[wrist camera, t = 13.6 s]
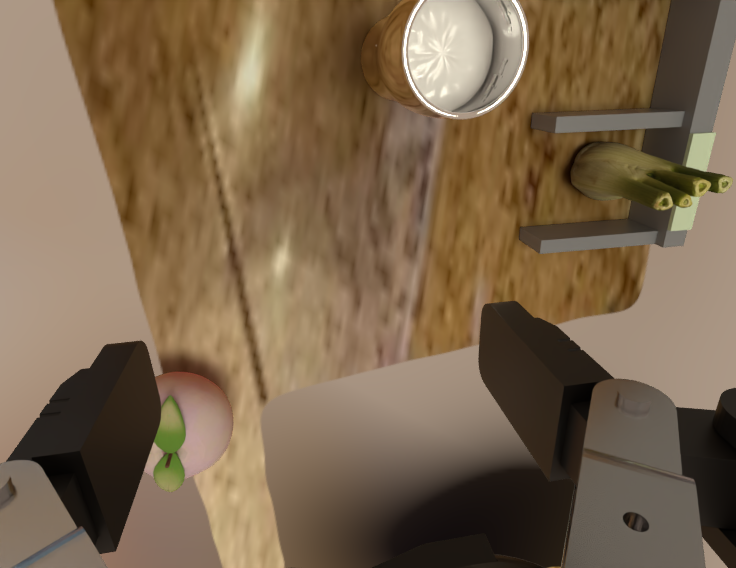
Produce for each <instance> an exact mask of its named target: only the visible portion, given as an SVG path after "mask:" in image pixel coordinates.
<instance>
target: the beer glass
mask: <svg viewBox="0 0 736 568" xmlns="http://www.w3.org/2000/svg"><path fill="white" fill-rule="evenodd" d="M528 49H529V31H528V24H527V20H526V16H525V13H524V11H523V8H522V6H521V4H520V2H519V0H402V1H400V2H399V3H398V4H397V5H396V7H395V8H394V9H393V10H392V12H391V13H390V14H389V16H387V17H385V18H383V19H381V20H380V21H378V22H377V23H376V24H375V25H374V26H373V27H372V28H371V29H370V31H369V32H368V34H367V36H366V38H365V40H364V43H363V46H362V50H361V66H362V71H363V74H364V77H365V79H366V81H367V83H368V84H369V86H370V87H371V88H372V89H373V90H374V91H375V92H376V93H377V94H378V95H380V96H381V97H383V98H386V99H388V100H392V101H397V102H398V103H399V104H401V105H402V106H403V107H405V108H406V109H408V110H410V111H412V112H415V113H417V114H420V115H423V116H426V117H432V118H439V119H459V120H462V119H471V118H475V117H479V116H481V115H484V114H486V113H488V112H490V111H491V110H493V109H494V108H496V107H497V106H499V105H500V104H501V103H502V102H503V101H504V100H505V99H506V98H507V97H508V96H509V95H510V93H511V92H512V91H513V90H514V88H515V86H516V85H517V83H518V81H519V79H520V77H521V75H522V73H523V70H524V68H525V64H526V61H527V56H528Z"/></svg>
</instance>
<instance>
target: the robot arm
mask: <svg viewBox="0 0 736 568" xmlns="http://www.w3.org/2000/svg"><path fill="white" fill-rule="evenodd" d="M479 369H480V374H481V377H482V380H483V382H484V383H485V385H486V387H487V388H488V390H489V391H490V393H491V394H492V396H493V397H494V399H495V400H496V402H497V403H498V405H499V406H500V408H501V409H502V411H503V412H504V414H505V415H506V417H507V418H508V420H509V422H510V423H511V424H512V426H513V428H514V429H515V431H516V432H517V433H518V435H519V437H520V438H521V440H522V441H523V443H524V444H525V446H526V447H527V449H528V450H529V452H530V453H531V455H532V456H533V458H534V459H535V461H536V462H537V464H538V465H539V467H540V468H541V470H542V471H543V473H544V474H545V476H546V477H547V479H548V481H556V480H562V479H568V478H571V479H572V481H573V482H574V483H575V489H574V493H573V499H572V505H571V511H570V517H569V523H568V529H567V535H566V540H565V546H564V552H563V559H562V564H561V568H706V567H705V558H704V550H703V542H702V537H703V538H704V540H705V541H706V542H707V543H708V544H709V546H710V547H711V548H712V549H713V550H714V551H715V553H716V554H717V555H718V556H719V557H720V559H721V560H722V561H723V562H724V563H725V565H726V566H727V567H728V568H736V388H733V389H729V390H726V391H724V392H723V393H722V394H721V396H720V400H719V402H718V406H717V409H716V410H704V409H692V408H679V407H676V406H675V405H674V403H673V402H672V400H671V399H670V398H669V397H668V396H667V395H665V394H664V393H662V392H661V391H659V390H658V389H656V388H654V387H652V386H649V385H647V384H644V383H641V382H637V381H634V380H628V379H614V378H613V377H612V376H611V375H610V374H609V373H608V372H607V371H606V370H604V369H603V368H602V367H601V366H600V365H599V364H598V363H597V362H596V361H595V360H593V359H592V358H591V357H590V356H589V355H588V354H587V353H586V352H585V351H583V350H581V349H580V347H579V346H578V345H577V344H576V343H575V342H574V341H570V338H569V337H568V336H567V335H566V334H565V333H564V332H563V331H561V330H560V329H559V328H558V327H557V326H555V325H553V324H551V323H549V322H547V321H545V320H542V319H540V318H534V317H533V316H532V315H530V314H529V313H528V312H527V311H526V310H525V309H524V308H523V307H522V306H521V305H520V304H519V303H518V302H516V301H508V302H499V303H490V304H485V305H484V307H483V309H482V314H481V329H480V343H479ZM160 421H161V400H160V395H159V391H158V388H157V384H156V380H155V376H154V372H153V368H152V364H151V360H150V356H149V352H148V349H147V346H146V344H145V343H144V342H143V341H134V342H125V343H115V344H107V345H105V346H104V347H103V349H102V350H101V352H100V353H99V355H98V356H97V358H96V359H95V361H94V362H93V364H92V365H91V367H90V368H88V369H81V370H79V371H78V372H77V373H75V374H74V375H73V376H71V377H70V378H69V379H67V380H66V381H65V382H63V383H62V384H61V385H60V387H59V388H58V389H57V391H56V392H55V394H54V395H53V396H52V398H51V399H50V403H49V404H47V405H46V406H45V407H44V409H43V410H42V412H41V413H40V418H37V419H36V420H35V422H34V423H33V425H32V426H31V427H30V429H29V430H28V431H27V433H26V434H25V436H24V437H23V438H22V440H21V441H20V443H19V444H18V445H17V447H16V448H15V450H14V451H13V453H12V454H11V455H10V457H9V458H8V460H7V461H6V462H4V463H1V464H0V568H107V566H106V564H105V562H104V561H103V559H102V557H101V556H100V554H102V553H109V552H114V551H116V549H117V547H118V544H119V541H120V538H121V535H122V532H123V529H124V526H125V524H126V521H127V518H128V515H129V512H130V509H131V506H132V503H133V500H134V497H135V495H136V492H137V489H138V486H139V483H140V480H141V477H142V474H143V471H144V469H145V466H146V463H147V460H148V457H149V454H150V451H151V449H152V446H153V443H154V440H155V437H156V434H157V431H158V428H159V425H160ZM373 568H544V567H542V566H539V565H537V564H534V563H532V562H528V561H525V560H522V559H518V558H514V557H509V556H503V555H494V553H493V551H492V548H491V546H490V544H489V542H488V539H487V537H486V535H485V534H478V535H473V536H467V537H461V538H455V539H450V540H444V541H438V542H433V543H427V544H423V545H421V546H419V547H416V548H414V549H412V550H410V551H408V552H405V553H403V554H401V555H399V556H397V557H395V558H392V559H390V560H388V561H386V562H383V563H381V564H379V565H377V566H375V567H373Z"/></svg>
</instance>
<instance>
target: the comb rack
mask: <svg viewBox="0 0 736 568" xmlns="http://www.w3.org/2000/svg"><path fill="white" fill-rule="evenodd" d="M735 39H736V0H672V1H671V6H670V11H669V16H668V21H667V26H666V31H665V36H664V41H663V46H662V51H661V56H660V61H659V66H658V71H657V76H656V81H655V86H654V91H653V97H652V102H651V107H650V108H640V109H617V110H594V111H570V112H547V113H532V121H531V128H533V129H538V130H543V131H547V132H552V133H567V132H587V131H608V130H628V129H646V132H645V137H644V142H643V147H642V152H644V153H646V154H649V155H652V156H655V157H659V158H661V159H664V160H667V161H670V162H673V163H676V164H679V165H683V166H686V167H690V168H694V169H698V170H700V171H704V172H706V170H707V166H708V163H709V159H710V155H711V151H712V147H713V143H714V139H715V135H716V133H714V132H712V130H713V126H714V122H715V118H716V114H717V110H718V106H719V102H720V98H721V94H722V90H723V86H724V82H725V78H726V75H727V71H728V66H729V63H730V59H731V54H732V50H733V47H734V43H735ZM691 200H692V203H693V204H692V205H691V206H690V207H687V208H680V207H678V206H676V205H673V206H672V207H671V208H670V209H668V210H664V211H663V210H662V211H659V210H654V209H652V208H650V207H647V206H644V205H642V204H640V203H637V202H635V201H632V203H631V208H630V213H629V218H628V219H619V220H606V221H593V222H580V223H567V224H554V225H542V226H529V227H520V235H519V240H521V241H522V242H523V243H525V244H526V245H528V246H529V247H531V248H532V249H534V250H535V251H536V252H538V253H539V254H543V253H555V252H567V251H578V250H590V249H601V248H613V247H624V246H636V245H647V244H657V245H659V246H661V247H673V246H683V245H684V241H685V238H686V234H687V230H691V229H692V225H693V221H694V217H695V214H696V210H697V206H698V202H699V197H693V196H691Z"/></svg>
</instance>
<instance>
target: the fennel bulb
mask: <svg viewBox="0 0 736 568" xmlns="http://www.w3.org/2000/svg"><path fill="white" fill-rule="evenodd" d="M570 174H571V183H572V184H573V185H574V186H575V187H576V188H577V189H578V190H580V191H581V192H582V193H583V194H584V195H586V196H587V197H589V198H592V199H595V200H614V199H619V198H626V199H629V200H632V201H635V202H637V203H640V204H642V205H644V206H647V207H650V208H652V209H654V210H659V211H662V210H663V211H664V210H668V209H670V208H671V207H672V206H673V205H676V206H678V207H680V208H687V207H690V206H691V205H692V204H693V203H692V200H691V196H693V197H700V196H703V195H704V194H705V193H706V192H707V191H711V192H715V193H724V192H726V191H727V190H728V189H729V188H730V186H731V185H732V182H733V179H732V178H731V177H728V176H725V175H722V174H716V173H711V172H704V171H700V170H698V169H694V168H690V167H686V166H683V165H679V164H676V163H673V162H670V161H667V160H664V159H661V158H659V157H655V156H652V155H649V154H646V153H644V152H641V151H639V150H636V149H635V148H631V147H628V146H626V145H623V144H620V143H613V142H594V143H591V144H589V145H587V146H585V147H584V148H583V149H582V150H581V151H580V152H579V153H578V154H577V156H576V158H575V162H574V164H573V166H572V169H571V172H570Z"/></svg>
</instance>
